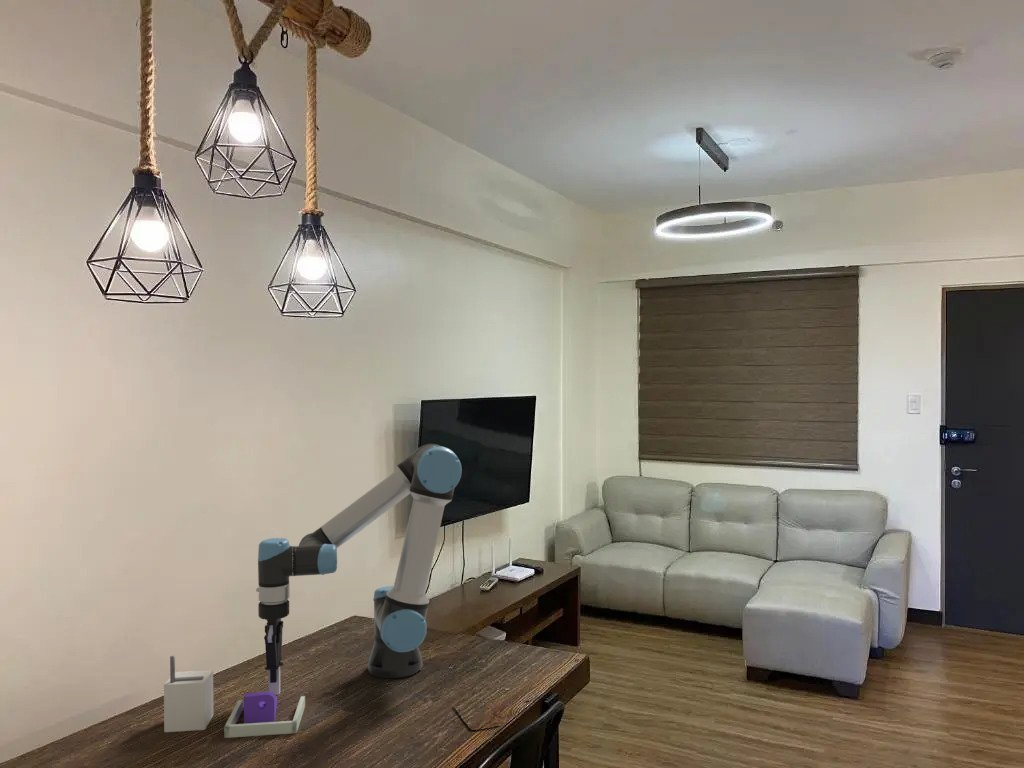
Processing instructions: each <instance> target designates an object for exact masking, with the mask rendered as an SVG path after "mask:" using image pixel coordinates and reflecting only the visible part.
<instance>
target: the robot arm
mask: <svg viewBox="0 0 1024 768" xmlns="http://www.w3.org/2000/svg"><path fill="white" fill-rule="evenodd" d="M462 470H463V469H462V463H461V461H460V459H459V457H458V456H457V454H456V453H455V452H454V451H453V450H452V449H450V448H448V447H445V446H441V444H436V443H427V444H424V445H422V446H420V447H418V448H417V449H416V450H414V451H413V452H412V453H411V454H409V455H408V456H407V457H406V458H405V459H403V460H402V461H400V463H398V464H397V465H396V466H395V469H394V472H393V473H391V474H390V475H388V476H387V477H386V478H384V479H383V480H382V481H380V482H379V483H378V484H376V485H375V486H373V487H372V488H371V489H370V490H368V491H367V492H366V493H364V494H362V495H361V496H360V497H359V498H357V499H356V500H354V501H353V503H351V504H349V505H348V506H346V508H344V509H343V510H341V511H340V512H339V513H337V514H336V515H334V516H333V517H332V518H331V519H330V520H328V521H326V522H325V523H324V524H323V525H321V526H320V527H319V528H317V529H316V530H315V531H313V532H310V533H307V534H306V535H304V536H303V537H302V538H301V540H300V542H299V544H298V546H296V545H295V546H292V545H291V544H290V541H289V539H287V538H282V537H281V538H279V537H272V538H268V539H267V538H266V539H263V540H262V541H260V543H259V544H258V556H257V578H258V579H257V581H258V588H256V589H255V591H256V593H258V601H259V603H258V613H257V614H258V618H260V619H262V620H266V621H267V622H266V624H265V625H264V633H265V635H264V637H263V639H264V644H265V660H266V666H265V667H264V670H265V671H268V672H267V674H268V675H267V676H268V677H267V678H268V680H267V681H268V683H267V685H268V686H267V689H268V691H269V692H272V693H273V694H274V696H276V695H280V694H281V666H284V661H283V662H282V659H283V656H282V655H283V654H282V652H283V649H282V648H283V627H284V621H283V620H282V619H284V618H286V617H288V616H289V615H290V601H289V599H290V596H291V595H290V594H291V593H290V577H298V576H299V577H301V576H319V575H321V576H324V575H330V574H334V573H336V571H337V569H338V549H339V548H340V547H342V545H344V544H345V543H346V542H348V541H349V540H351V538H353V537H354V536H355V535H357V534H359V532H361V531H362V530H364V529H365V528H366V527H367V526H369V525H370V524H372V523H373V522H374V521H376V520H377V519H379V517H381V516H382V515H384V514H385V513H386V512H388V511H389V510H391V508H393V507H394V506H395V505H397V504H398V503H400V502H401V501H402V500H403V499H406V497H407V496H409V495H410V496H412V499H413V500H412V504H411V508H410V513H409V516H408V517H409V518H408V522H407V527H406V530H405V536H404V541H403V544H402V548H401V553H400V559H399V560H398V561H399V562H398V565H397V566H398V567H397V570H396V573H395V574H396V575H395V578H394V583H393V584H394V585H389V586H383V587H382V586H381V587H379V588H378V587H377V588H376V589H375V590H374V592H373V608H374V609H373V610H374V612H373V617H374V619H373V621H374V622H373V625H374V626H373V631H374V632H373V634H374V636H373V637H374V640H373V641H374V642H373V646H372V648H371V652H370V656H369V658H368V662H367V663H368V664H367V672H368V673H369V674H370V675H372V676H373V677H377V678H381V679H400V678H406V677H410V676H412V675H416V674H418V673H419V672H420V671H422V669H423V657H422V654H421V652H420V649H419V646H420V645H421V644H422V643H424V640H425V638H426V637H427V636H426V635H427V631H428V629H427V627H428V625H427V621H426V619H427V614H428V610H429V605H430V599H429V598H428V596H427V594H426V591H427V588H428V582H429V578H430V573H431V569H432V565H433V560H434V556H435V552H436V546H437V541H438V537H439V533H440V528H441V525H442V519H443V515H444V510H445V506H446V505H447V504H449V503H451V502H453V501H452V500H453V497H454V492H455V488H456V487H457V486H458V484H459V483H460V480H461V477H462V473H463V472H462ZM421 668H422V669H421ZM419 670H420V671H419ZM418 671H419V672H418ZM417 672H418V673H417ZM415 673H416V674H415Z"/></svg>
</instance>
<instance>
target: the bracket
mask: <svg viewBox="0 0 1024 768" xmlns="http://www.w3.org/2000/svg"><path fill="white" fill-rule="evenodd" d="M277 705H278V696H277V695H274V694H273V693H272V692H269V691H259V692H258V691H257V692H248V693H244V695H243V724H248V723H264V722H276V714H277V707H278V706H277Z"/></svg>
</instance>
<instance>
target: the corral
mask: <svg viewBox="0 0 1024 768" xmlns="http://www.w3.org/2000/svg"><path fill="white" fill-rule="evenodd" d="M305 708H306V695H301V696H300V699H299V701H298V704H297V707H296V710H295V713H294V716H293V719H292V720H285V721H275V722H264V723H248V724H244V723H238V720H239V718H240V716H241V715H242V712H244V699H238V700H237V702H236V704H235V706H234V708H233V710H232V711H231V714H230V716H229V717H228V719H227V721H226V723H225V724H224V726H223V727H224V729H223V731H224V734H223V735H224V737H223V738H224V739H227V738H228V739H230V738H241V737H243V738H244V737H258V736H259V737H260V736H272V735H288V734H297V733H298V730H299V726H300V724H301V720H302V717H303V714H304V711H305ZM237 723H238V724H237Z"/></svg>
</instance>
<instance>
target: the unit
mask: <svg viewBox="0 0 1024 768" xmlns="http://www.w3.org/2000/svg"><path fill="white" fill-rule="evenodd" d="M169 658H170V659H169V660H170V661H169V662H170V663H169V664H170V665H169V668H170V669H169V670H170V671H169V672H170V674H169V675H170V677H169V678H167V679H168V680H167V681H166V682H165V683H164V684H163V707H164V708H163V720H164V722H163V726H164V727H163V728H164V731H163V732H164V733H176V732H189V731H190V732H192V731H205V730H206V729H207V726H208V725H209V723H210V722H211V720H212V718H213V716H214V670H213V669H208V670H207V669H206V670H204V669H203V670H191V671H187V670H185V671H176V655H171V656H170V657H169Z"/></svg>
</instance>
